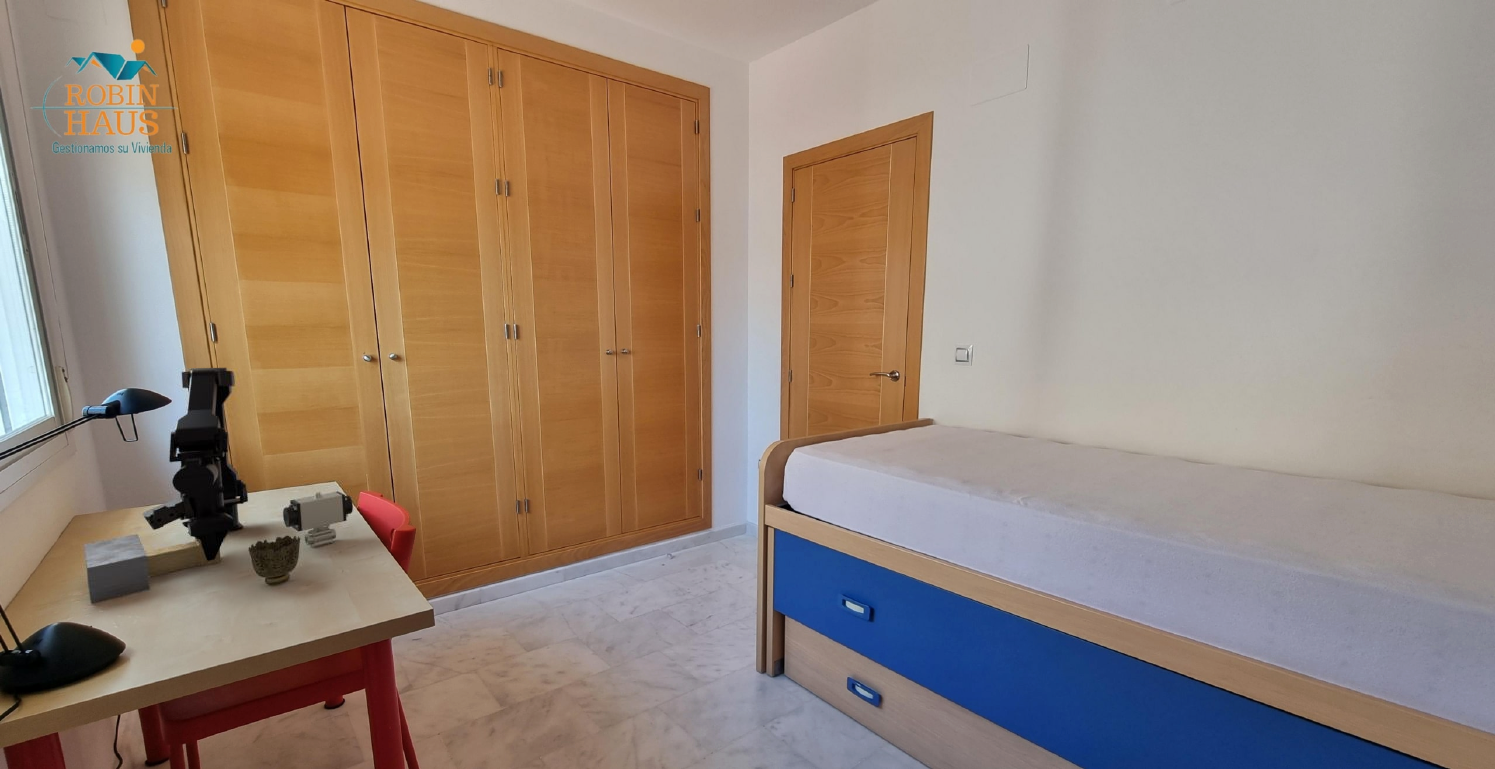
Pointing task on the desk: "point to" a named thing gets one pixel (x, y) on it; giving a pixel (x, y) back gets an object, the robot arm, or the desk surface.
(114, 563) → the gray rectangular block
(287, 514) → the pneumatic valve
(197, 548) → the wooden bar
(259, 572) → the cup
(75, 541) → the desk surface
